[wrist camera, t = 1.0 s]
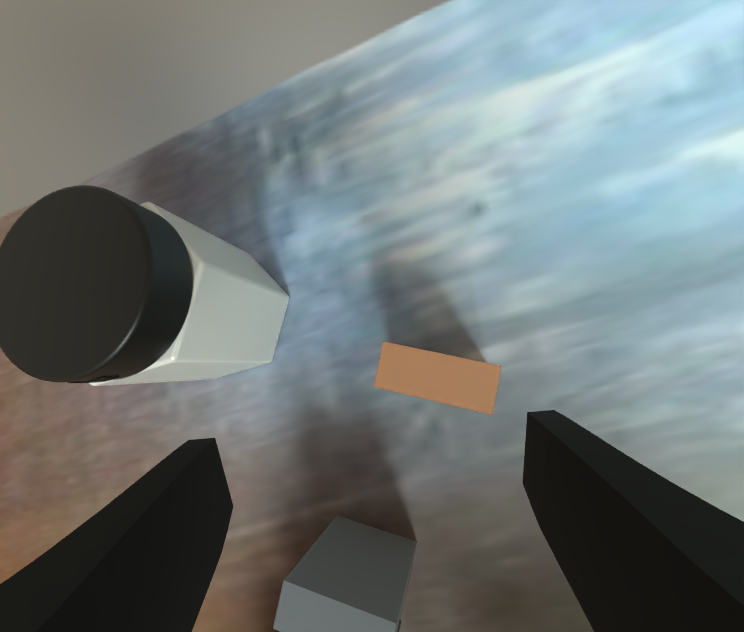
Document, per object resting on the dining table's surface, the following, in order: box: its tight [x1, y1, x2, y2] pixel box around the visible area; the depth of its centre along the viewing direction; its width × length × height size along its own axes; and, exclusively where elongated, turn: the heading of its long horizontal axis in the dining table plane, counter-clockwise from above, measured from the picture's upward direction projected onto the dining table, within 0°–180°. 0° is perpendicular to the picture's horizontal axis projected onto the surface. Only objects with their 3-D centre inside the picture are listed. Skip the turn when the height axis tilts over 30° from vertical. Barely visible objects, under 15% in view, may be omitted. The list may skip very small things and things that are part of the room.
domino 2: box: [374, 341, 501, 415], centre depth 20 cm, size 2×5×8 cm, turn 78°
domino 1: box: [273, 515, 417, 632], centre depth 20 cm, size 2×5×8 cm, turn 77°
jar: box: [0, 185, 289, 386], centre depth 21 cm, size 9×8×12 cm
